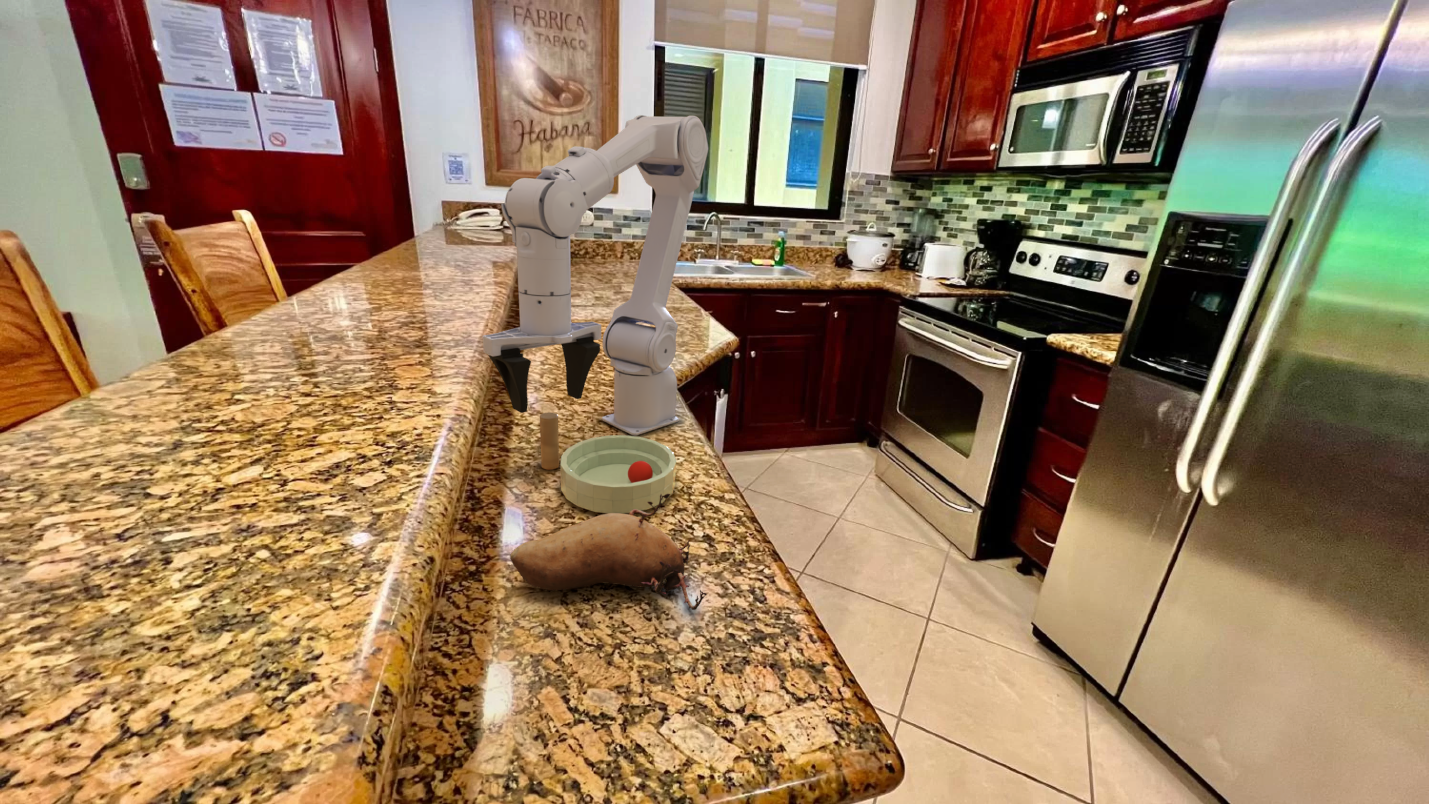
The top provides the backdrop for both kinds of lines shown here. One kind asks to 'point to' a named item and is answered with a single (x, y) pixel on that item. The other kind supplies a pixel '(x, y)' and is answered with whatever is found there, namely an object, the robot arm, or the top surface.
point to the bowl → (616, 473)
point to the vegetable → (605, 555)
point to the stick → (549, 440)
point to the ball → (639, 471)
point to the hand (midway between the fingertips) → (548, 403)
